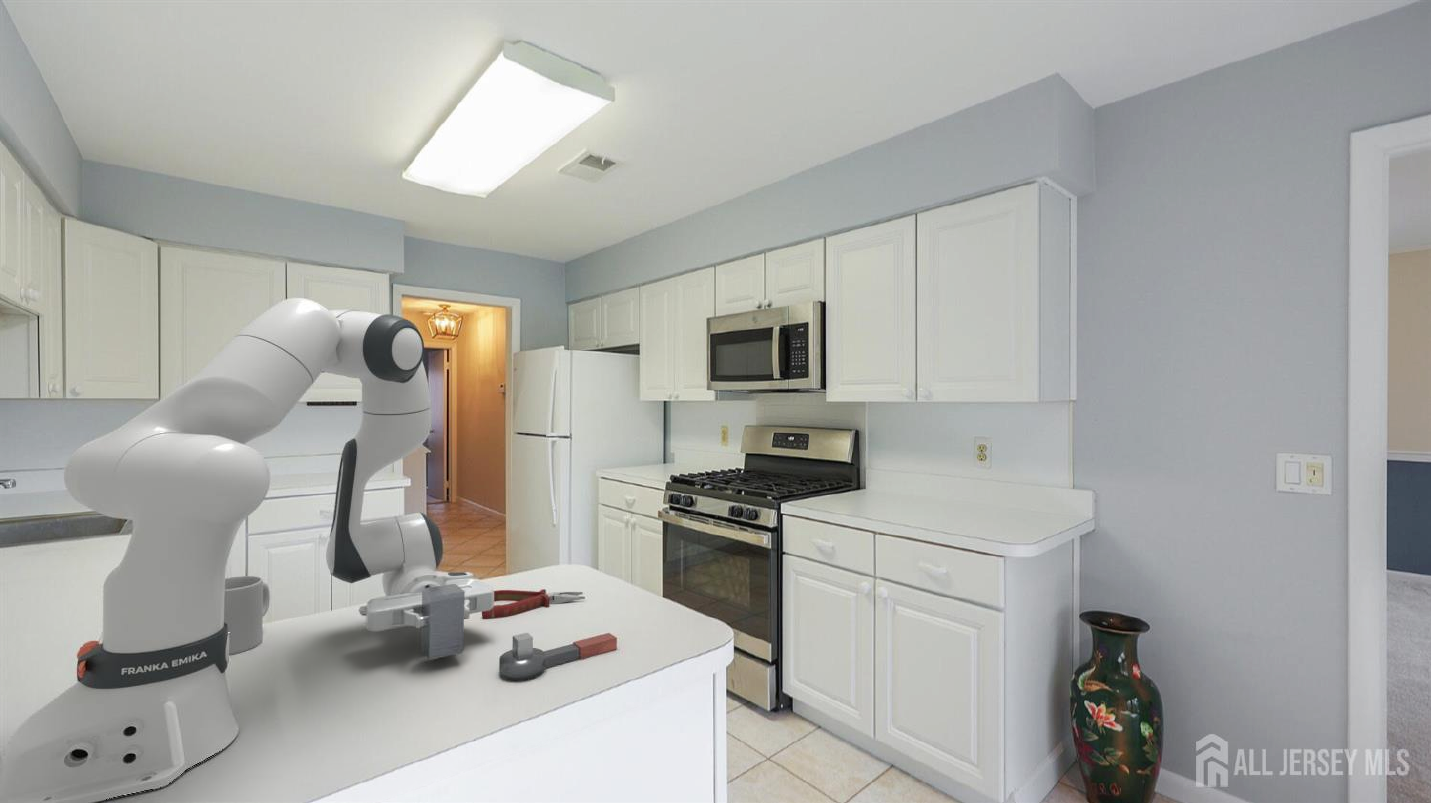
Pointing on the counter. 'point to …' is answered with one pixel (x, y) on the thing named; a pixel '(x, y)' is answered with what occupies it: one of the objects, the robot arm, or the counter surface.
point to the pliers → (526, 601)
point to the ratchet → (547, 655)
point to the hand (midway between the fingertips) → (444, 618)
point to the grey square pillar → (442, 621)
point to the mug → (245, 611)
